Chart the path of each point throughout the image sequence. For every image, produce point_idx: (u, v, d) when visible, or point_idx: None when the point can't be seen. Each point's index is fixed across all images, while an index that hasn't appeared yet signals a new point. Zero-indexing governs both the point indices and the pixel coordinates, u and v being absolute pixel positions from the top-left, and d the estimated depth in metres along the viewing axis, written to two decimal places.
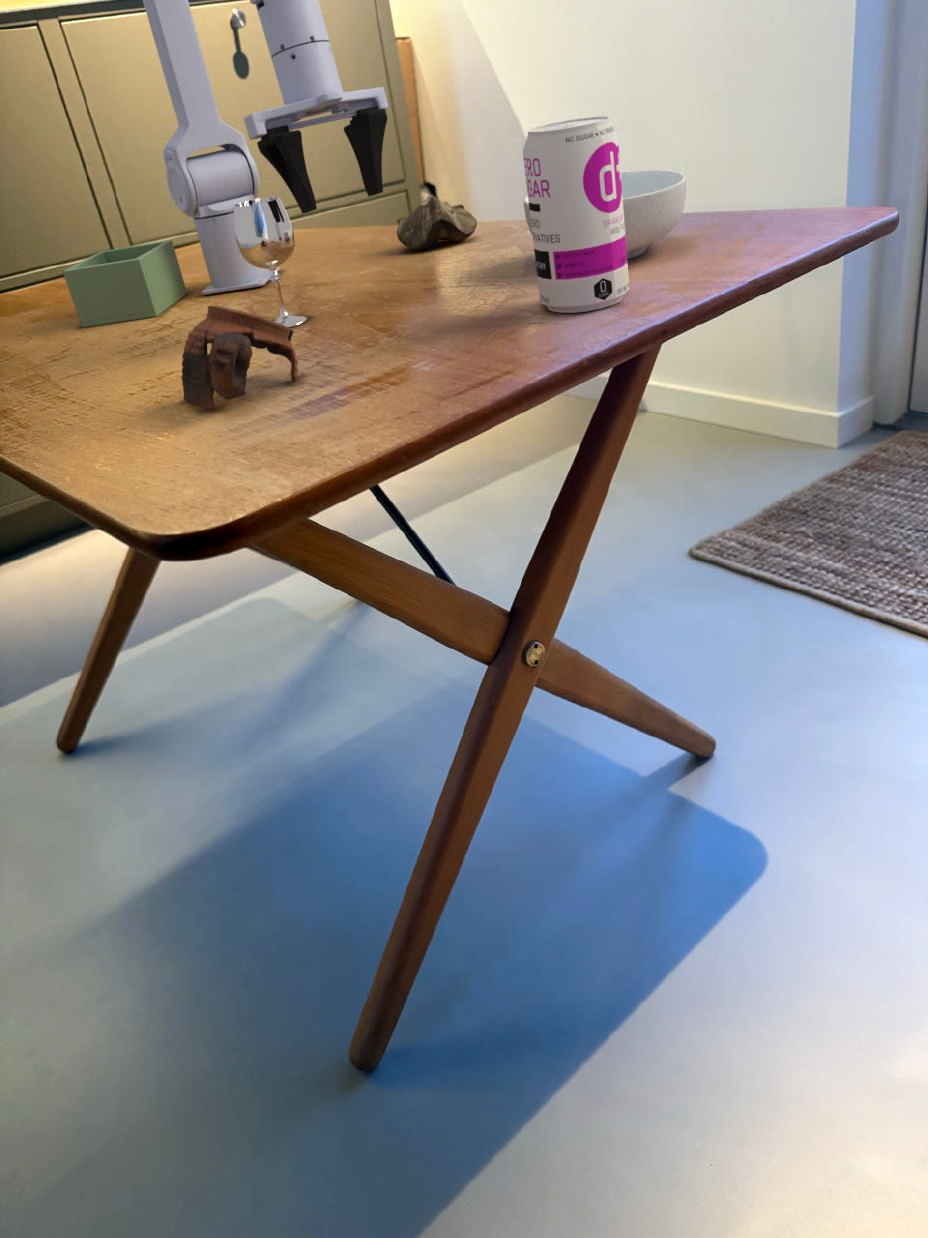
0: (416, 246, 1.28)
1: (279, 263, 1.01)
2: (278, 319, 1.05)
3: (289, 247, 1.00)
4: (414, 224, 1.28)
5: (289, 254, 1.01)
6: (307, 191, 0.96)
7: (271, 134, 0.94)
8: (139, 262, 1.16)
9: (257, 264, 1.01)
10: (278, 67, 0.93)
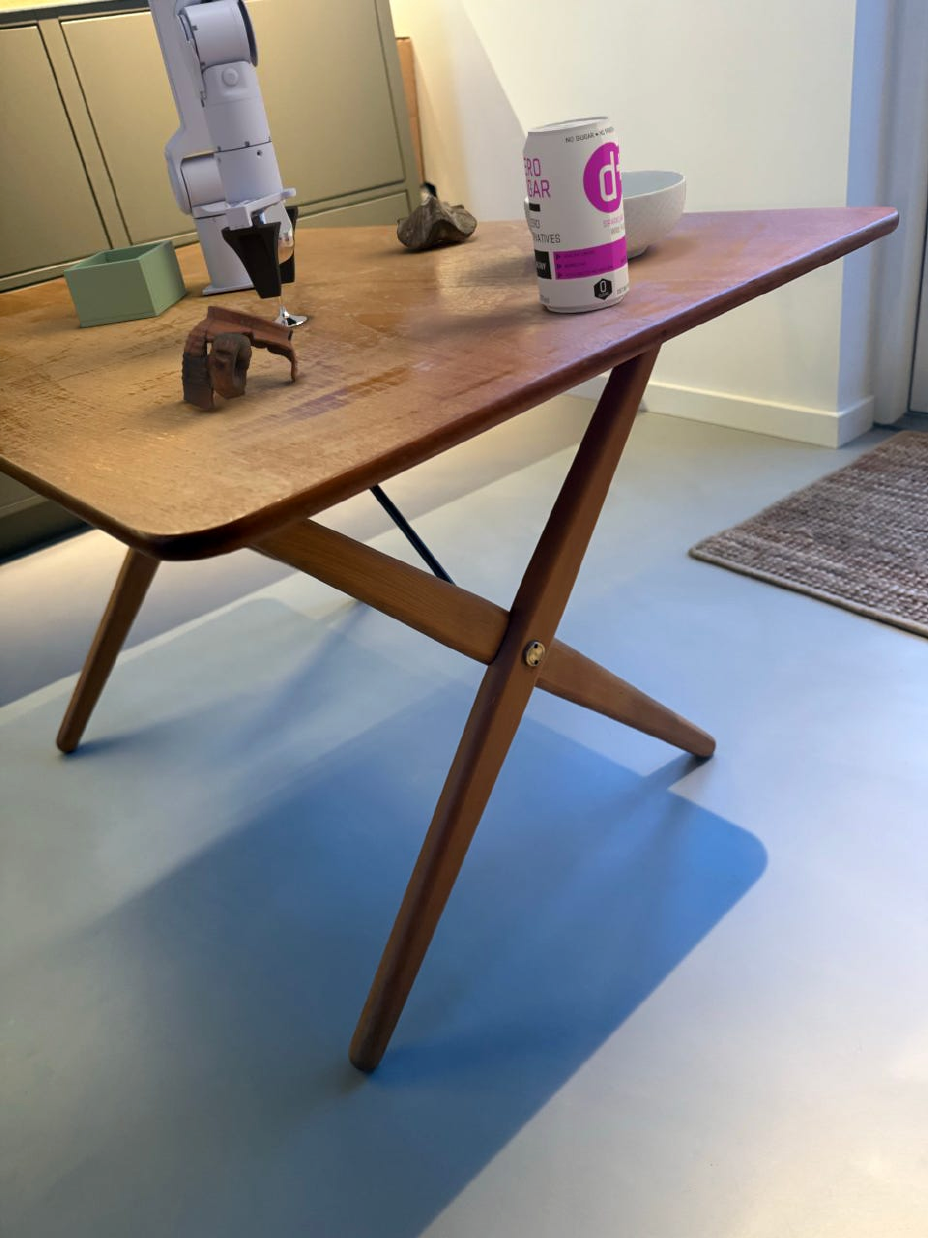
0: (416, 246, 1.28)
1: (279, 263, 1.01)
2: (278, 319, 1.05)
3: (289, 247, 1.00)
4: (414, 224, 1.28)
5: (289, 254, 1.01)
6: (279, 278, 1.00)
7: (256, 224, 0.96)
8: (139, 262, 1.16)
9: None
10: (240, 161, 0.95)
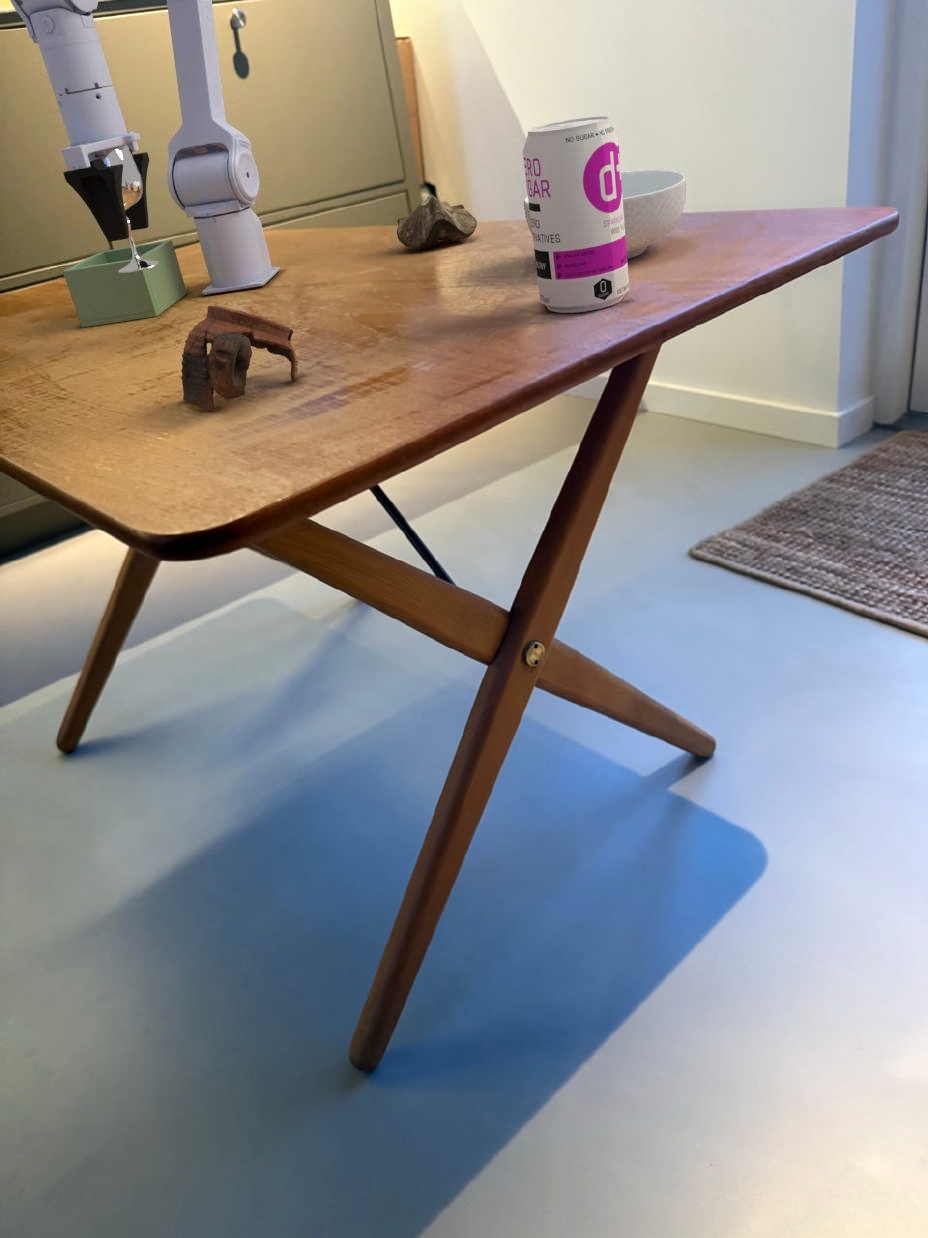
0: (416, 246, 1.28)
1: (127, 207, 1.04)
2: (130, 263, 1.07)
3: (135, 191, 1.03)
4: (414, 224, 1.28)
5: (136, 198, 1.04)
6: (125, 220, 1.03)
7: (96, 166, 0.98)
8: None
9: None
10: (78, 104, 0.98)
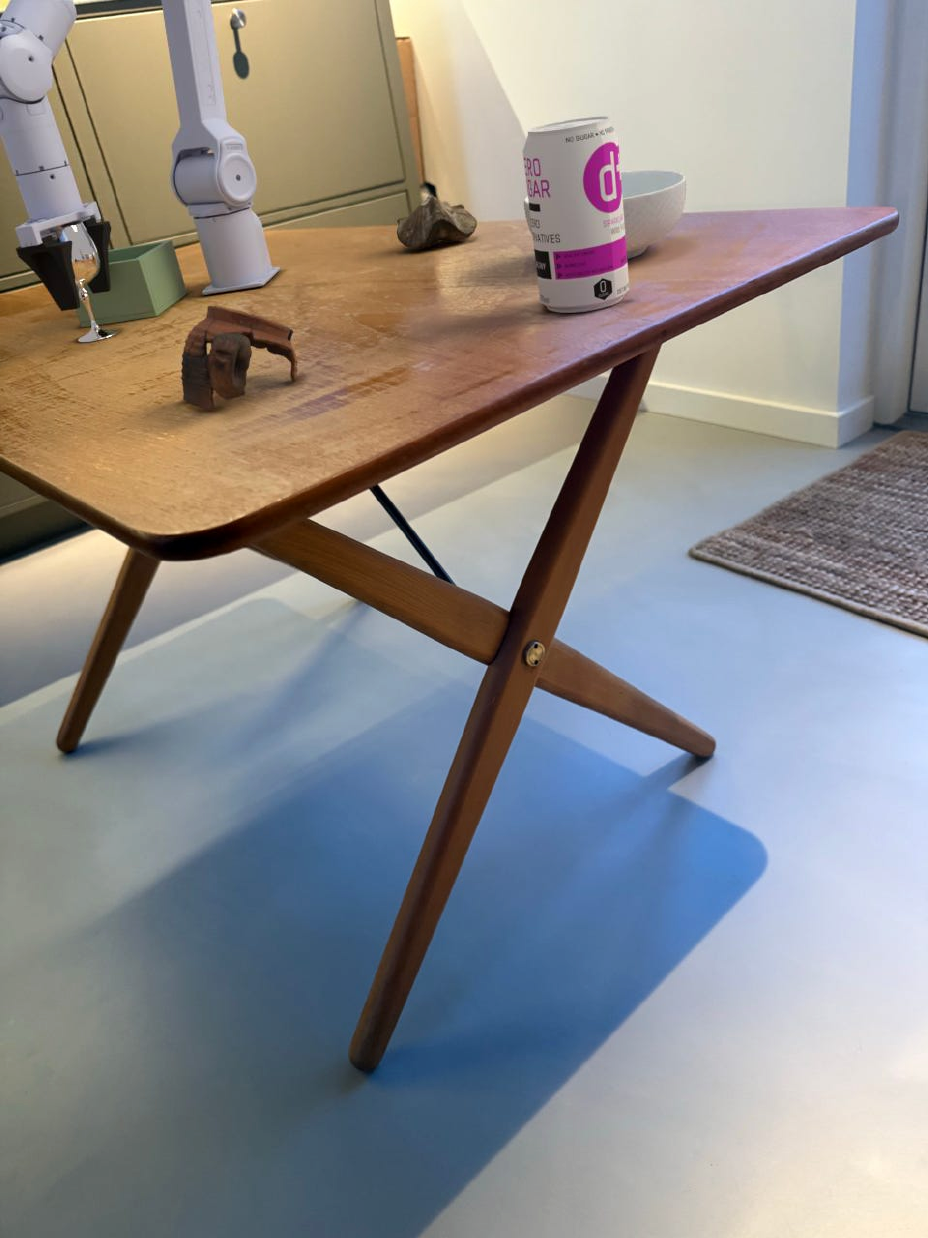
0: (416, 246, 1.28)
1: (83, 282, 1.11)
2: (89, 333, 1.14)
3: (91, 268, 1.10)
4: (414, 224, 1.28)
5: (92, 274, 1.10)
6: (75, 292, 1.08)
7: (45, 243, 1.04)
8: (139, 262, 1.16)
9: None
10: (34, 184, 1.04)
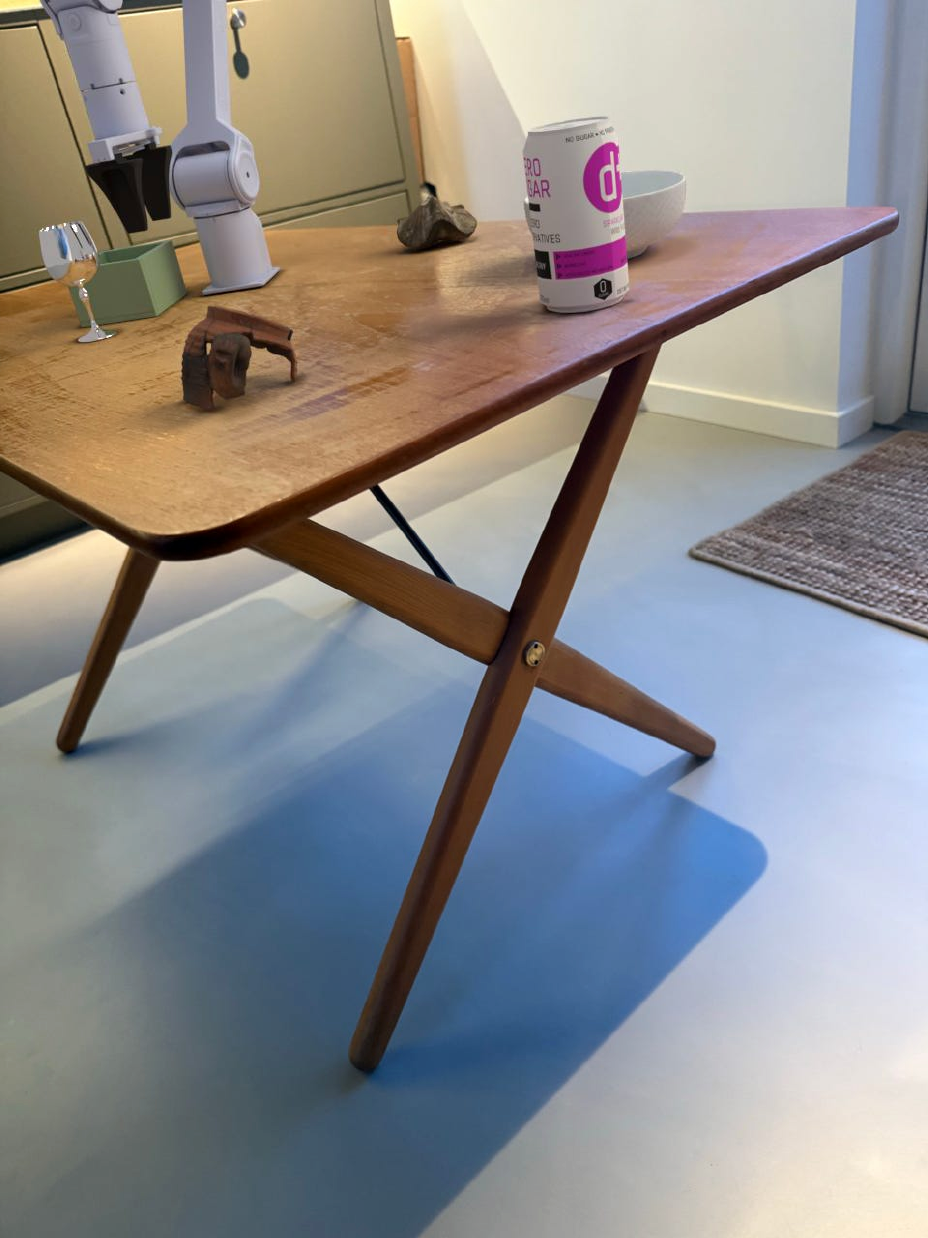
0: (416, 246, 1.28)
1: (83, 282, 1.11)
2: (89, 333, 1.14)
3: (91, 268, 1.10)
4: (414, 224, 1.28)
5: (92, 274, 1.10)
6: (144, 213, 1.05)
7: (116, 159, 1.01)
8: (139, 262, 1.16)
9: (62, 283, 1.10)
10: (103, 99, 1.01)
